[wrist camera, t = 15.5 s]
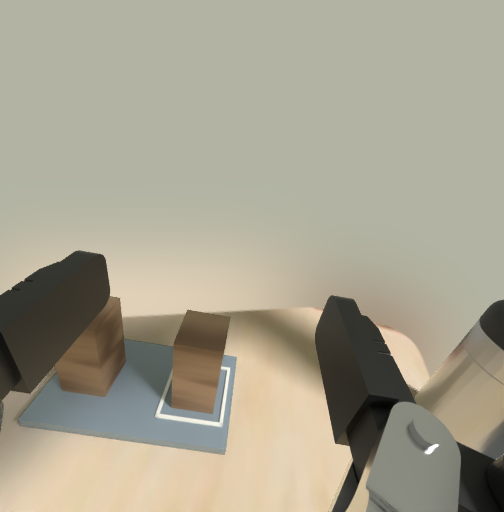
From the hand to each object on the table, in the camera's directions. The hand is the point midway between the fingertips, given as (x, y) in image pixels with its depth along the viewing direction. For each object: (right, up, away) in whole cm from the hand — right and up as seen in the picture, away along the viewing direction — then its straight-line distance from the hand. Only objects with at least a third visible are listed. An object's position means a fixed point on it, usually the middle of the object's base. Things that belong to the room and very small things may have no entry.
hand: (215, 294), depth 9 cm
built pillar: (-18, -14, +22) cm, 32 cm away
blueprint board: (-12, -16, +23) cm, 31 cm away
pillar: (-6, -16, +23) cm, 29 cm away
